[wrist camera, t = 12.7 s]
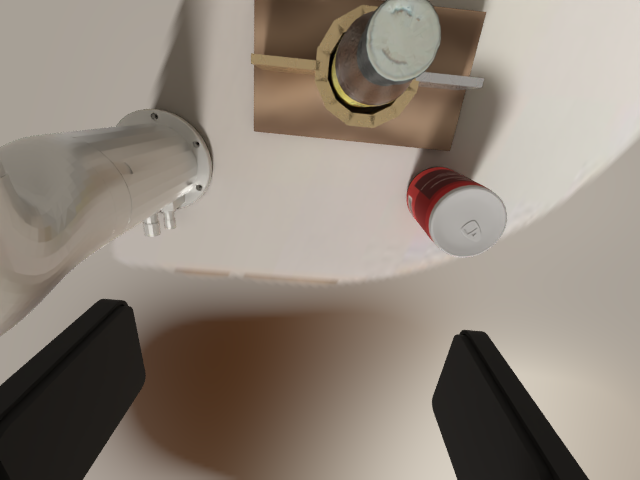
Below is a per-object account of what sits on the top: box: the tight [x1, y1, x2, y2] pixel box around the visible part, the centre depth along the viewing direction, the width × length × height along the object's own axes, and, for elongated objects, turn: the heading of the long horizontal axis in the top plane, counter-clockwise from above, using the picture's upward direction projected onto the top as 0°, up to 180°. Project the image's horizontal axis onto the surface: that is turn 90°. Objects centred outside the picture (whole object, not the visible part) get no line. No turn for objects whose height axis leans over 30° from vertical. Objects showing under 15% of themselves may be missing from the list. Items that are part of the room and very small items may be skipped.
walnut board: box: [254, 0, 486, 151], centre depth 35 cm, size 14×24×2 cm, turn 85°
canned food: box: [407, 167, 507, 257], centre depth 36 cm, size 8×8×11 cm
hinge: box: [251, 5, 484, 128], centre depth 31 cm, size 10×22×6 cm, turn 85°
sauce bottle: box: [330, 0, 441, 107], centre depth 25 cm, size 6×6×20 cm
